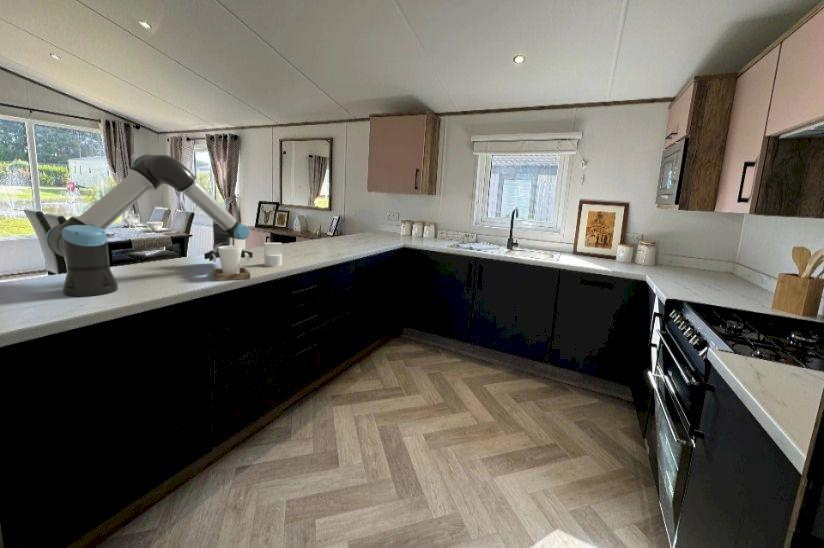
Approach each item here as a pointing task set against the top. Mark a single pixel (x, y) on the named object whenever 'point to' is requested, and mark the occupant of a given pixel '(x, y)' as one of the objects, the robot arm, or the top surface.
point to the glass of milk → (273, 254)
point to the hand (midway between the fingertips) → (232, 258)
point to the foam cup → (230, 259)
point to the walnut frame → (241, 275)
